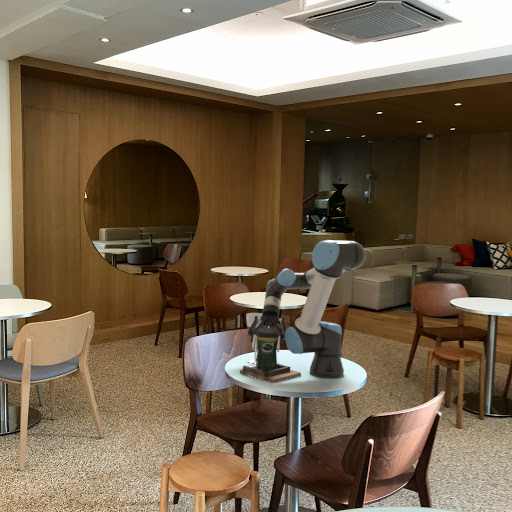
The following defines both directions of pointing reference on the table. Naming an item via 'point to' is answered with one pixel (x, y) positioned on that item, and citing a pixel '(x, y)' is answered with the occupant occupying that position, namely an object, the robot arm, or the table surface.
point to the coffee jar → (266, 349)
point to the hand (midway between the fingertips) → (265, 349)
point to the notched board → (271, 373)
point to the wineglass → (250, 320)
